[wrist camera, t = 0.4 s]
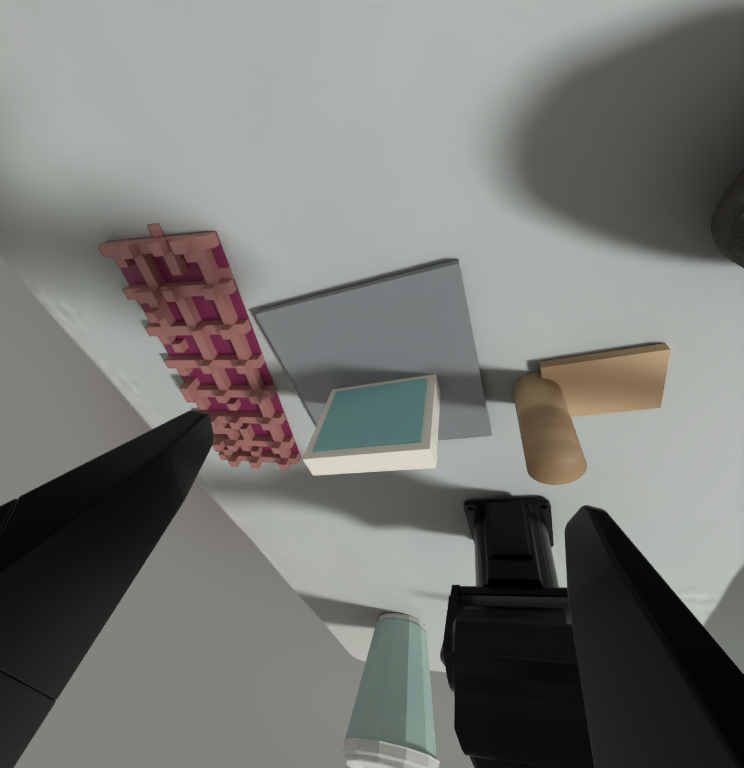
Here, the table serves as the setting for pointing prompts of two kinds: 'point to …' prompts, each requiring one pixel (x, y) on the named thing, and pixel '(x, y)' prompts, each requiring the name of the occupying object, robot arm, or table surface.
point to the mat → (385, 342)
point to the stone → (731, 222)
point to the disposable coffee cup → (393, 700)
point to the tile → (377, 428)
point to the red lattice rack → (208, 340)
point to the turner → (582, 403)
